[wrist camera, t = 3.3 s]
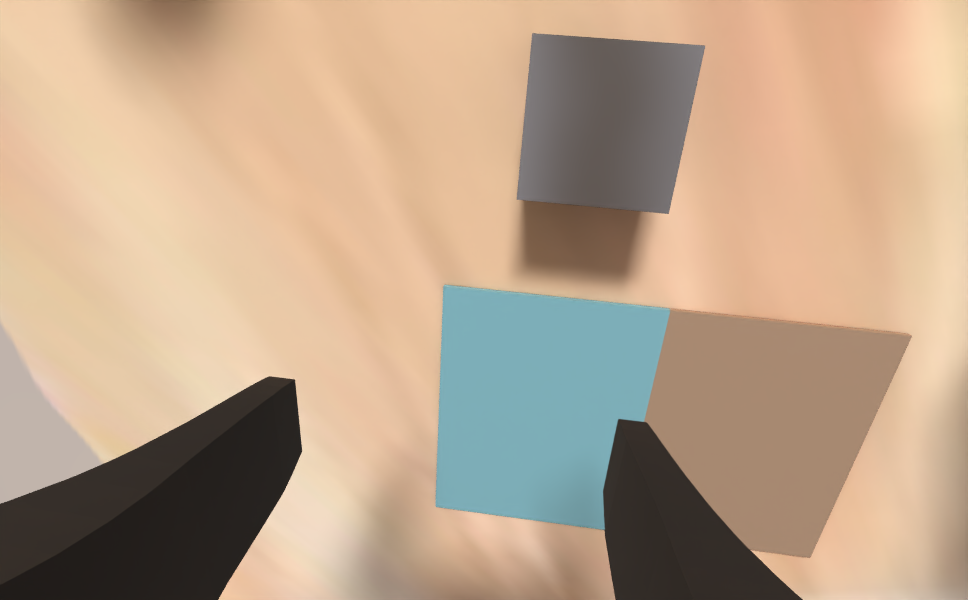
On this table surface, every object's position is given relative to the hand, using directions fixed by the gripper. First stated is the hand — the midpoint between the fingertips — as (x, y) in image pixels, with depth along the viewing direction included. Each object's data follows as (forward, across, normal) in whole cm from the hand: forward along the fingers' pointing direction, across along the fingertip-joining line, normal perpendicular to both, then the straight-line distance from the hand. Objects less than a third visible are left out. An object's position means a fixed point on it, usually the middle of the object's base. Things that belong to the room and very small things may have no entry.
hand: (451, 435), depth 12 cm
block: (+11, -3, -6) cm, 13 cm away
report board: (+10, -7, +7) cm, 14 cm away
